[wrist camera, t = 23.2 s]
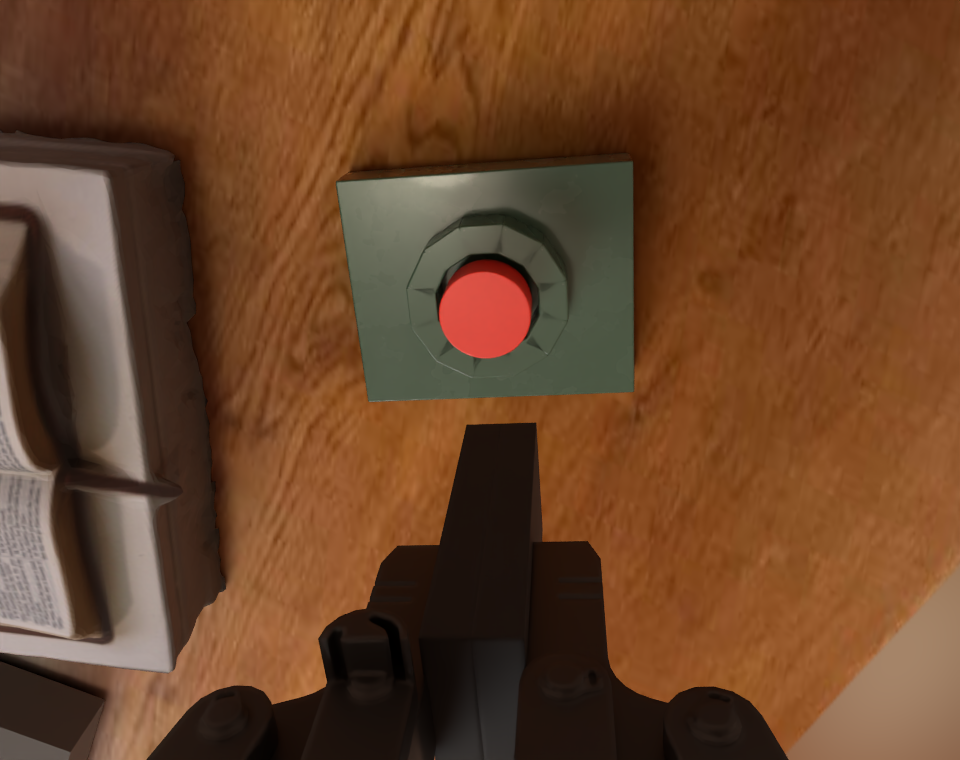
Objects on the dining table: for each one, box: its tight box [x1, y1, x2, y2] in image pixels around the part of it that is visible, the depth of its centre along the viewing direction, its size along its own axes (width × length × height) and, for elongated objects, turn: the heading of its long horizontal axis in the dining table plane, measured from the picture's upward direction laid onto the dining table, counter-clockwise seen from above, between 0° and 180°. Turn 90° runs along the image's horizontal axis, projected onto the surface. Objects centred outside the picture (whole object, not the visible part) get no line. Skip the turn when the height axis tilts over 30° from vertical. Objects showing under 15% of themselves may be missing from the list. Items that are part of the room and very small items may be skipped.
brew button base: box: [336, 153, 634, 402], centre depth 34 cm, size 12×10×4 cm
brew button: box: [439, 259, 532, 358], centre depth 32 cm, size 4×4×2 cm
